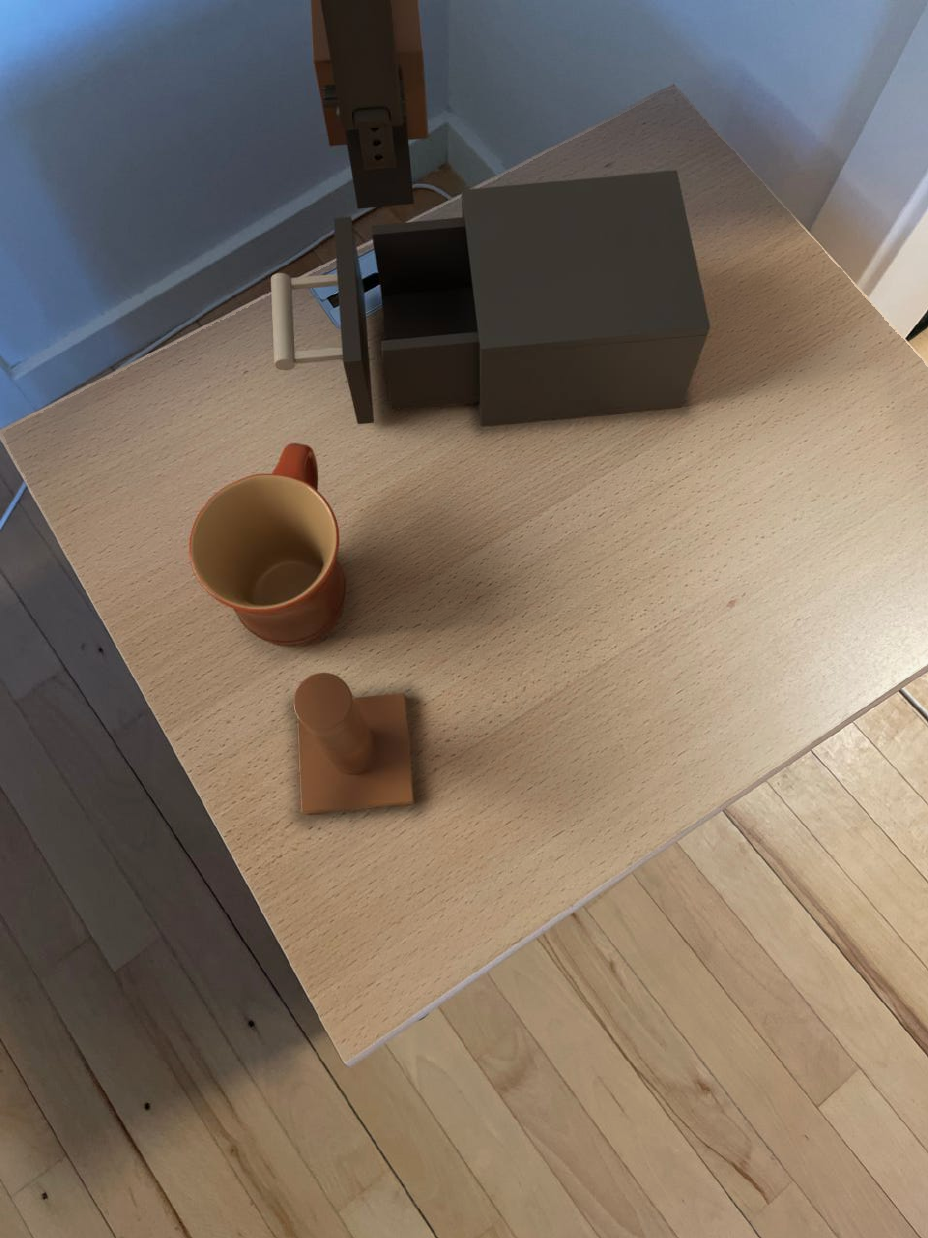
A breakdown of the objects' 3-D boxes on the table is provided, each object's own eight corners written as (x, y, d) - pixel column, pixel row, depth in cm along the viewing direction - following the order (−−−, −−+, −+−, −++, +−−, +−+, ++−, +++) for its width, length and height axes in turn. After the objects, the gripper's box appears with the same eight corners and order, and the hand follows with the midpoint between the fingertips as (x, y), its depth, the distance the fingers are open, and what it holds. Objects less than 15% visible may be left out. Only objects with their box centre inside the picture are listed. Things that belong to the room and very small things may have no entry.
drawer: (289, 431, 70) (266, 369, 63) (283, 297, 74) (261, 224, 66) (545, 406, 70) (552, 342, 63) (526, 275, 74) (531, 199, 67)
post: (303, 814, 62) (255, 775, 49) (299, 707, 64) (251, 642, 51) (414, 803, 62) (395, 761, 49) (405, 696, 65) (385, 629, 51)
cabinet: (481, 426, 71) (480, 348, 62) (464, 282, 75) (461, 189, 66) (681, 407, 71) (710, 327, 62) (653, 264, 75) (677, 169, 66)
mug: (342, 674, 65) (317, 624, 55) (215, 649, 66) (169, 595, 56) (383, 512, 69) (367, 439, 59) (263, 490, 70) (228, 414, 60)
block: (329, 146, 44) (312, 60, 40) (325, 70, 46) (309, -21, 41) (428, 138, 44) (423, 51, 40) (421, 63, 46) (415, -29, 42)
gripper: (466, -326, 23) (474, 301, 45) (415, -702, 29) (444, 17, 51) (148, -302, 23) (311, 314, 45) (160, -684, 29) (300, 29, 51)
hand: (382, 156), depth 48 cm, fingers closed on block, 4 cm apart
